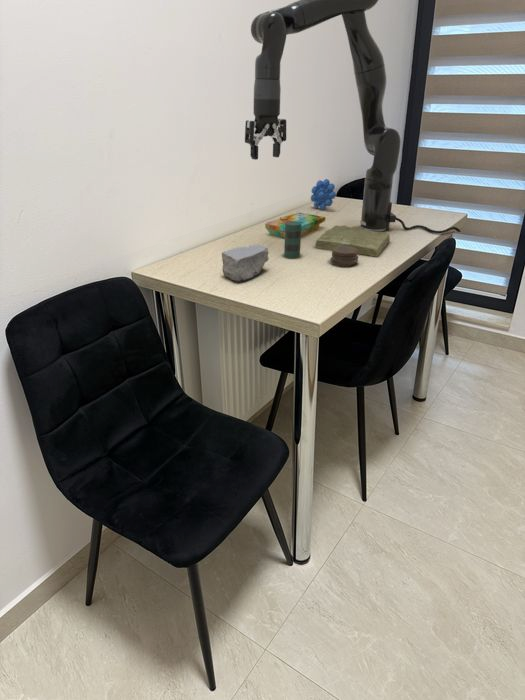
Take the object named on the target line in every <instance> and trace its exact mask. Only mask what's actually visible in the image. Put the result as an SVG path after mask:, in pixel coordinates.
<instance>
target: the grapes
mask: <svg viewBox="0 0 525 700" xmlns="http://www.w3.org/2000/svg"><path fill="white" fill-rule="evenodd" d="M335 188H336V187H335V184H334V183H331V181H330V180H329V179H328V178H326V179H324V180H321V179H320V180H318V181H317V182H316V183H315V185H314V186H313V187H312V188H311V193H312V194H311V196H310V201H311V202H313V207H314V208H315V209H318V208H319V209H320V210H322V211H324V210H325V209H327V207H331V206H333V203H334V202H333V200H334V199H335V198H336V196H337V193H336V191H335Z"/></svg>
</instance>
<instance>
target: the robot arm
mask: <svg viewBox="0 0 525 700" xmlns="http://www.w3.org/2000/svg"><path fill="white" fill-rule="evenodd" d="M378 2H379V0H297V1H294V2H292V3H289V4H288V5H285V6H283V7H279V8H276V9H275V8H274V9H271V10H268V11H265V12H262V13H259V14H258V15H256V16H255V17H254V18H253V20H252V22H251V25H250V34H251V37H252V38H253V40H254V41H255V42H256V43H258V44H261V45H262V46H261V52H260V53H259V54H258V55H257V56H256V58H255V60H254V83H253V115H254V120H250V119H249V120H248V119H247V120H245V126H244V127H245V129H244V143H245V144H248V145H249V146H250V153H249V155H250V158H251V159H252V160H255V161H256V160H258V159H259V143H260V142H261V140H263V138H264V137H269V138H271V139H272V142H273V143H272V157H273V158H279V157H280V155H281V146H282V145H281V144H283V142H286V141H287V119H286V118H285V119H284V118H279V116H280V115H281V94H282V93H281V62H282V58H283V55H284V49H285V46H286V41H287V36H288V35H294V34H299V33H301V32H304V31H306V30H309V29H311V28H313V27H315V26H318V25H320V24H322V23H325V22H326V21H327V22H328V21H329V20H331V19H334V18H336V17H339V16H341V17H342V21H343V25H344V28H345V32H346V36H347V41H348V46H349V52H350V56H351V62H352V67H353V75H354V80H355V86H356V89H357V95H358V102H359V107H360V112H361V119H362V131H363V133H362V135H363V143H364V147H365V150H366V151H367V153H368V154H370V155H372V156H373V161H372V165H371V166H370V167H368V168H367V169H366V170H365V176H364V186H363V187H364V188H363V197H362V206H361V218H360V220H359V224H360V225H359V227H360V228H362V229H368V230H370V231H374V232H385V231H386V232H387V231H389V230H390V224H391V223H396V221H397V222H399V223H400V224H401V226H402V228H403V229H404V230H405V231H411V230H414V229H419V228H420V229H424V230H425V231H427V232H430V233H433V234H444V233H447V232H449V231H452V230H455V231H457V233H461V232H462V231H461V229H460V228H458V227H456V226H451V227H447V228H446V229H443V230H435V229H431V228H429V227H427V226H425V225H420V224H417V225H412V226H410V227H407V226H406V224H405V222H404V221H403V220H402V219H401V218H399V217H397V215H396V214H394V213H393V212H392V208H393V207H392V206H393V202H391V199H392V189H393V181H394V175H395V173H396V170H397V168H398V164H399V163H398V162H399V158H400V151H401V143H402V142H401V134H400V133H399V132H398V130H397V129H395V128H393V127H387V126H386V123H385V117H384V112H383V111H384V110H383V105H384V104H383V102H384V98H385V93H386V90H387V89H386V88H387V72H386V65H385V60H384V56H383V53H382V51H381V49H380V47H379V46H378V43H377V42H376V41H375V39H374V37H373V36H372V34H371V32H370V30H369V25H368V23H367V18H366V17H367V16H366V11H367V12H368V11H369V10H371V9H372V8H374V7H375V6H376V5H377V4H378Z"/></svg>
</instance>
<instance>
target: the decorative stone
mask: <svg viewBox="0 0 525 700" xmlns="http://www.w3.org/2000/svg"><path fill="white" fill-rule="evenodd" d="M221 260H222V269H221V270H222V273H223V276H224V277H226V278H228V279H229V280H231V281H233V282H236V283H242V282H247V281H249V280H251V279H253V278H255V277H257V276H259V275H260V273H261V272H262V270H263V268H264V265H266V263H267V262H268V261H269V250H268V247H267V246H265V245H260V244H250V245H248V246H238V247H236V248H232V249H231V248H230V249H226V250H224V251H222V252H221Z"/></svg>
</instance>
